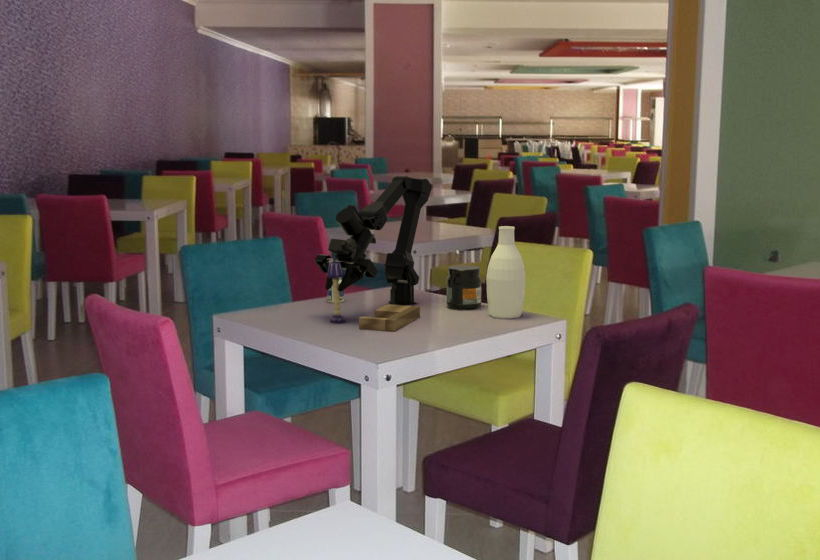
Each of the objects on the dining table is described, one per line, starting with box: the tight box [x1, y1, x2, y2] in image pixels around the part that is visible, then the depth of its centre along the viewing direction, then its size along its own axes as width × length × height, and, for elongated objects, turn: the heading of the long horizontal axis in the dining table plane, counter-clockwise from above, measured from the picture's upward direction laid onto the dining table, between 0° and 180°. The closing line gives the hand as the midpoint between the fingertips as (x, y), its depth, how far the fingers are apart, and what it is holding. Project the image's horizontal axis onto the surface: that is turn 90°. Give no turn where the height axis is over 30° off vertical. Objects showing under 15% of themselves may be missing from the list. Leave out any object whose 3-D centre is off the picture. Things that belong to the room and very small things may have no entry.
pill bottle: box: [326, 277, 345, 304], centre depth 286 cm, size 5×5×9 cm
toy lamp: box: [326, 262, 346, 324], centre depth 255 cm, size 5×5×17 cm
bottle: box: [485, 225, 527, 319], centre depth 262 cm, size 11×11×25 cm
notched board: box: [358, 303, 421, 332], centre depth 255 cm, size 10×20×3 cm, turn 160°
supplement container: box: [446, 264, 483, 311], centre depth 276 cm, size 10×10×12 cm
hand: (332, 290), depth 254 cm, fingers closed on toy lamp, 4 cm apart
